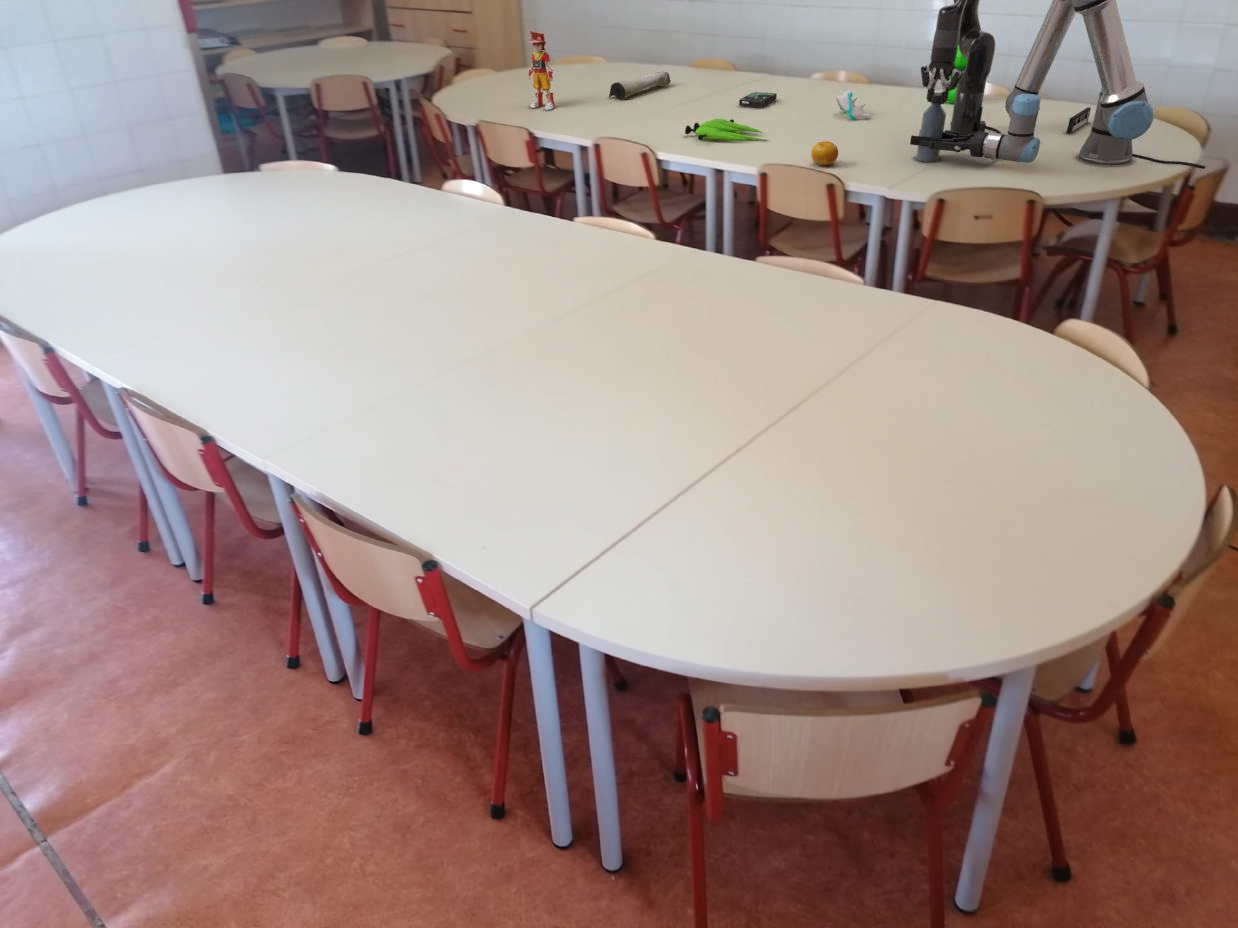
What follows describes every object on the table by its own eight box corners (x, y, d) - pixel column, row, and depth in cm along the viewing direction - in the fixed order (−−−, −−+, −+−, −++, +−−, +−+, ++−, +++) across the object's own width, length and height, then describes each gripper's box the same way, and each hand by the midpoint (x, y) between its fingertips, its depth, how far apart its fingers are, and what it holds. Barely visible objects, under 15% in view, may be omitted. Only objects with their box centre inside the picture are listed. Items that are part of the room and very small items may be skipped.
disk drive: (762, 109, 362) (776, 100, 372) (762, 101, 360) (777, 93, 370) (738, 106, 367) (753, 98, 377) (738, 99, 365) (754, 91, 375)
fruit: (804, 156, 294) (819, 134, 291) (809, 158, 302) (823, 137, 299) (825, 170, 293) (840, 148, 290) (829, 172, 300) (844, 151, 297)
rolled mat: (651, 76, 408) (662, 61, 399) (662, 93, 408) (674, 79, 400) (605, 92, 391) (616, 77, 383) (617, 110, 391) (628, 95, 383)
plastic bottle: (973, 101, 354) (984, 32, 339) (955, 106, 349) (966, 36, 335) (952, 97, 361) (962, 29, 346) (934, 102, 356) (944, 33, 342)
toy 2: (674, 138, 327) (749, 153, 315) (675, 124, 324) (751, 138, 312) (709, 126, 347) (780, 139, 335) (710, 112, 345) (782, 125, 332)
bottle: (931, 163, 293) (942, 100, 281) (912, 159, 297) (921, 97, 285) (942, 158, 297) (953, 95, 285) (922, 154, 301) (932, 92, 289)
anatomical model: (831, 89, 347) (857, 82, 346) (834, 116, 353) (859, 109, 352) (842, 98, 335) (869, 91, 334) (845, 126, 341) (871, 118, 340)
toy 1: (525, 109, 381) (517, 32, 364) (534, 104, 388) (527, 28, 371) (550, 110, 377) (543, 32, 360) (559, 105, 384) (553, 28, 367)
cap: (937, 104, 284) (938, 96, 283) (927, 102, 287) (928, 94, 285) (946, 102, 286) (947, 94, 284) (935, 100, 289) (936, 92, 287)
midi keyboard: (1070, 133, 311) (1073, 118, 308) (1066, 133, 312) (1069, 118, 309) (1087, 122, 322) (1091, 107, 319) (1084, 121, 322) (1087, 107, 319)
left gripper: (918, 43, 279) (910, 101, 289) (959, 49, 270) (949, 108, 280) (932, 40, 283) (923, 97, 293) (973, 45, 274) (962, 104, 284)
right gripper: (973, 165, 280) (902, 156, 291) (993, 149, 293) (924, 141, 304) (978, 141, 275) (905, 132, 287) (997, 125, 288) (927, 118, 300)
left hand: (936, 102), depth 286 cm, fingers closed on cap, 4 cm apart
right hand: (915, 137), depth 295 cm, fingers closed on bottle, 7 cm apart
